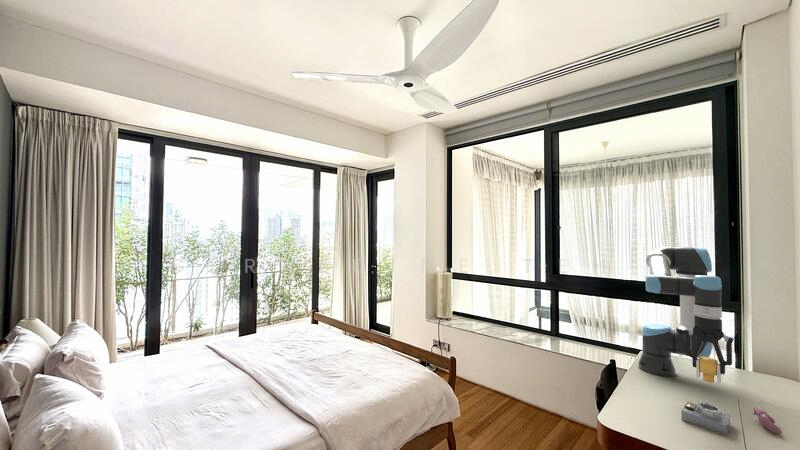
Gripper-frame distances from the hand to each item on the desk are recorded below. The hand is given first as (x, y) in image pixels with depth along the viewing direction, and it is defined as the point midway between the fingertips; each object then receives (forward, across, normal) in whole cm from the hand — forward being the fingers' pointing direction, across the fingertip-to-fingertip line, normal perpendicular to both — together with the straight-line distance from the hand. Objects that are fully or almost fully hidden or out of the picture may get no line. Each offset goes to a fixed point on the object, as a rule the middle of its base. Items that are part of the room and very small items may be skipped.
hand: (708, 379), depth 119 cm
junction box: (+16, -1, 0) cm, 16 cm away
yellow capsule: (+1, 0, 0) cm, 1 cm away
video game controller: (+17, +14, +15) cm, 26 cm away
